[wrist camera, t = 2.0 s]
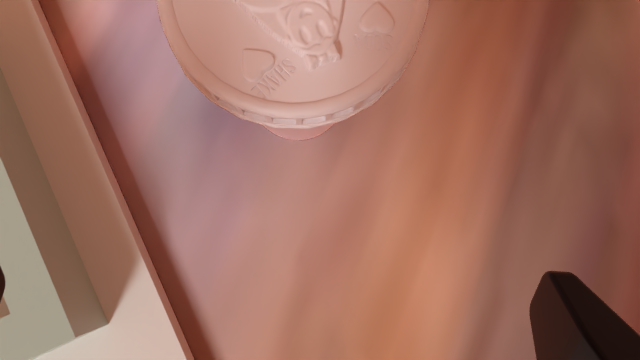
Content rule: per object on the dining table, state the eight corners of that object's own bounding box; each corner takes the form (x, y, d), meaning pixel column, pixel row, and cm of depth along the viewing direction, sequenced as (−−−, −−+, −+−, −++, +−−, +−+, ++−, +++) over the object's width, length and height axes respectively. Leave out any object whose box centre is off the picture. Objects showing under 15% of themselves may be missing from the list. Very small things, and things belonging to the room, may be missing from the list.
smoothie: (342, -5, 23) (403, -387, 9) (402, 140, 22) (565, -31, 9) (193, 49, 23) (17, -263, 9) (250, 199, 22) (159, 120, 8)
